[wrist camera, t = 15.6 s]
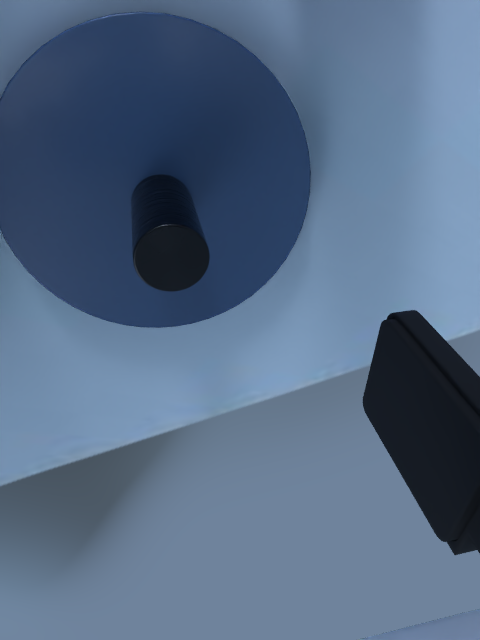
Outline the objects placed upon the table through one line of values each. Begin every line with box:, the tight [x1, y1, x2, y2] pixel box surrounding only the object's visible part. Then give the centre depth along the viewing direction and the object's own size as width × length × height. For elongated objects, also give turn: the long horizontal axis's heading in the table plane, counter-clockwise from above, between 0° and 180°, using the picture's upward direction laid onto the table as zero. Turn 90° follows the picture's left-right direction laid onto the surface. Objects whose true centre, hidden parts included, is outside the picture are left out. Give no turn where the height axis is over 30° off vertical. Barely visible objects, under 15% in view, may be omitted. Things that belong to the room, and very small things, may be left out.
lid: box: [0, 12, 311, 328], centre depth 17 cm, size 13×13×6 cm
